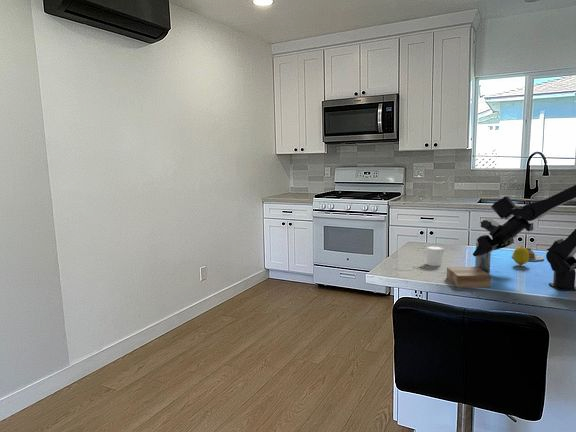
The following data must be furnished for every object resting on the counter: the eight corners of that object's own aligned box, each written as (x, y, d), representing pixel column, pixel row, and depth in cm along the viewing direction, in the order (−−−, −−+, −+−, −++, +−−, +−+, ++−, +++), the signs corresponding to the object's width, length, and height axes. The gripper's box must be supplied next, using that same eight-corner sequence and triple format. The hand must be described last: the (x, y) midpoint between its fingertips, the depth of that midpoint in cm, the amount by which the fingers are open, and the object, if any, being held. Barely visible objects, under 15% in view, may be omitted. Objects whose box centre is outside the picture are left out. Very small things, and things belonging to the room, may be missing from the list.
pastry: (518, 254, 188) (518, 244, 188) (548, 258, 179) (548, 248, 179) (507, 259, 181) (507, 248, 180) (537, 264, 172) (538, 253, 171)
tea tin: (492, 272, 159) (494, 240, 158) (478, 273, 160) (479, 240, 158) (486, 269, 165) (487, 237, 163) (472, 269, 165) (474, 238, 163)
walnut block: (490, 286, 143) (490, 275, 142) (457, 287, 143) (458, 276, 143) (477, 277, 154) (477, 266, 153) (446, 277, 154) (447, 267, 154)
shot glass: (424, 265, 172) (424, 248, 171) (427, 261, 178) (427, 245, 177) (441, 267, 169) (442, 250, 168) (444, 263, 175) (444, 246, 174)
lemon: (530, 267, 165) (531, 247, 164) (515, 267, 166) (516, 247, 165) (525, 264, 171) (526, 244, 169) (510, 263, 172) (511, 244, 171)
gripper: (507, 209, 162) (477, 233, 172) (483, 214, 150) (453, 240, 160) (527, 232, 157) (496, 255, 167) (505, 239, 145) (472, 264, 155)
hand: (479, 253), depth 162 cm, fingers open, 9 cm apart
